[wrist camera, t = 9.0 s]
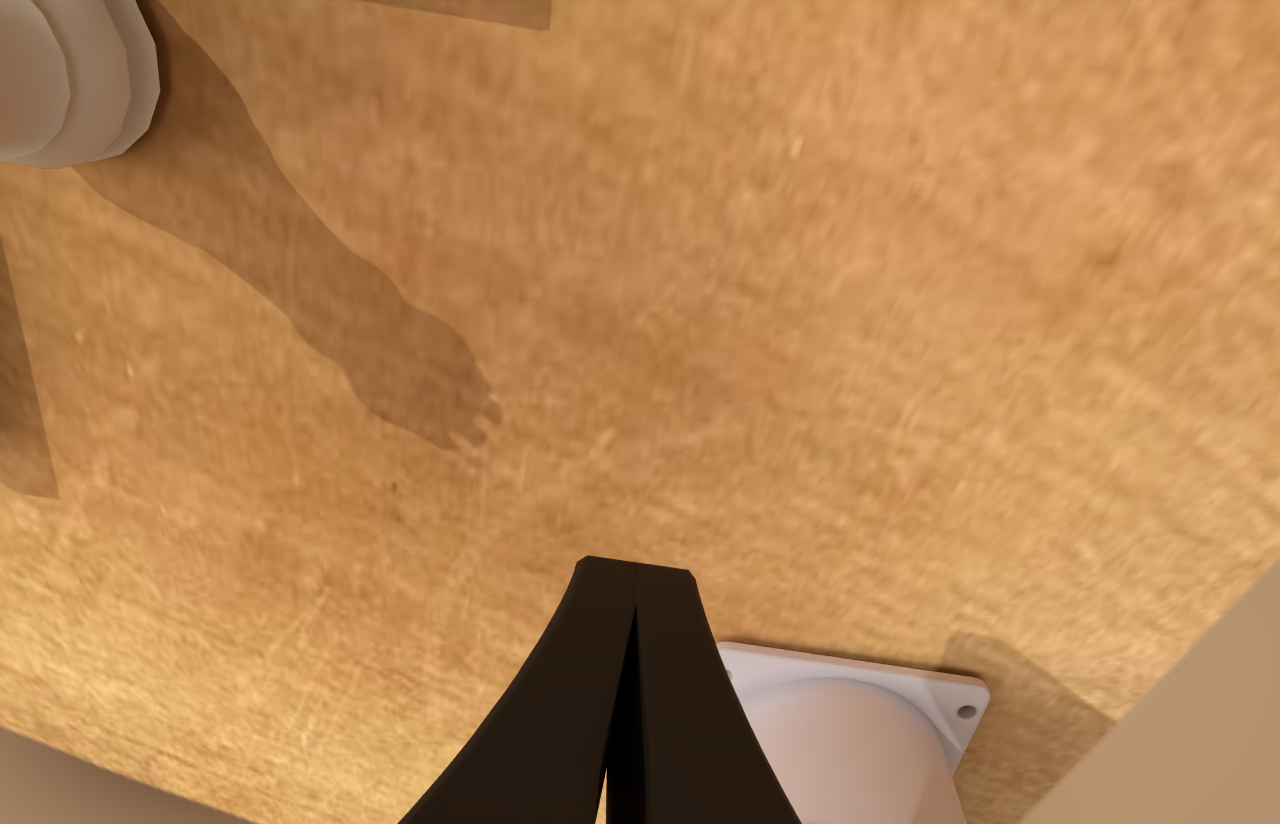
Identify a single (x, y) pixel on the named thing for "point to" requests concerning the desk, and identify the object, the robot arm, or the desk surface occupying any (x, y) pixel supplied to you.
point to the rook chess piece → (74, 80)
